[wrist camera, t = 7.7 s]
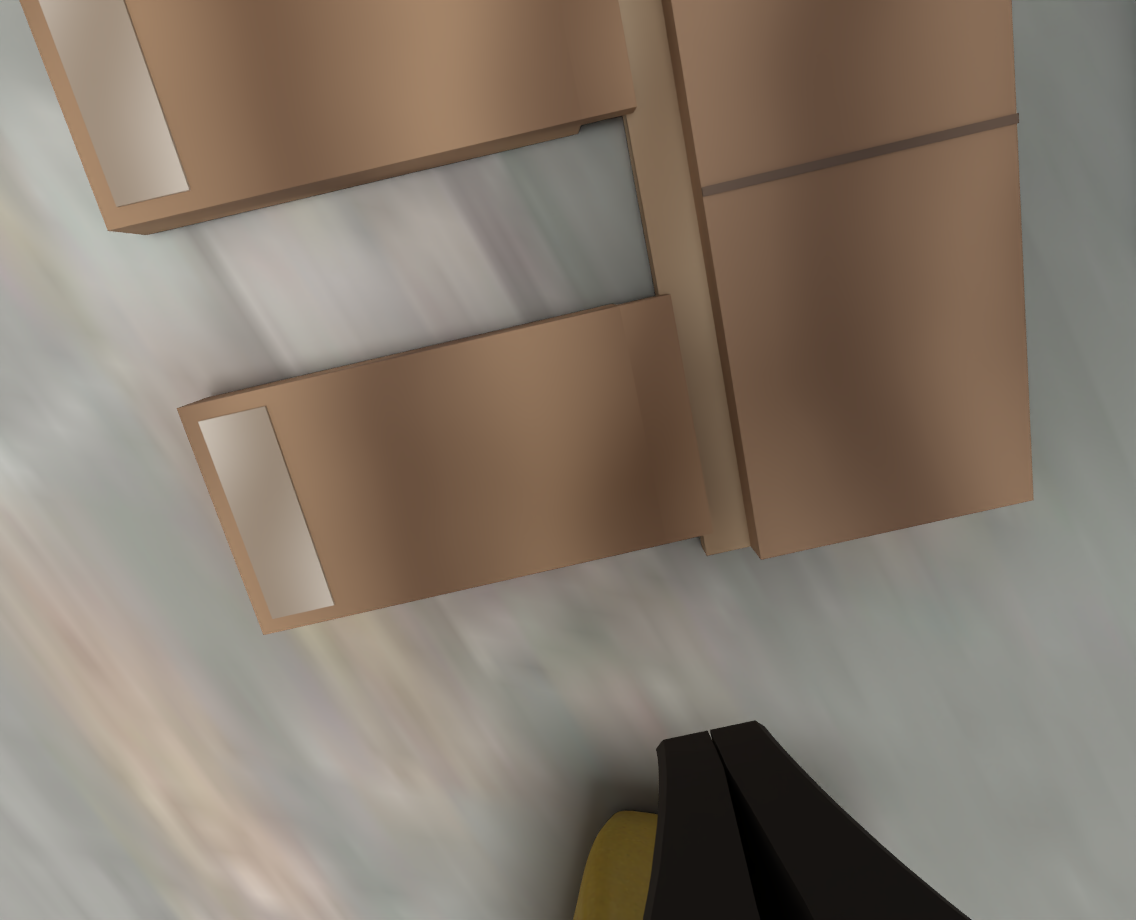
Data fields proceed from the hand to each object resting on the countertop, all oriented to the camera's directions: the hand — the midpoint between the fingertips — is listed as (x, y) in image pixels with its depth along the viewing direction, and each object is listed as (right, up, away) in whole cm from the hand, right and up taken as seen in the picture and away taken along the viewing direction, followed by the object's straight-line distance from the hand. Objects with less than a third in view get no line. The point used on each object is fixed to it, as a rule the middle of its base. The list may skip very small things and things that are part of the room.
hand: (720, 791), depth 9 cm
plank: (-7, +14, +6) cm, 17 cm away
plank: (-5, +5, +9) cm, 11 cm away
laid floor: (+4, +11, +7) cm, 14 cm away
